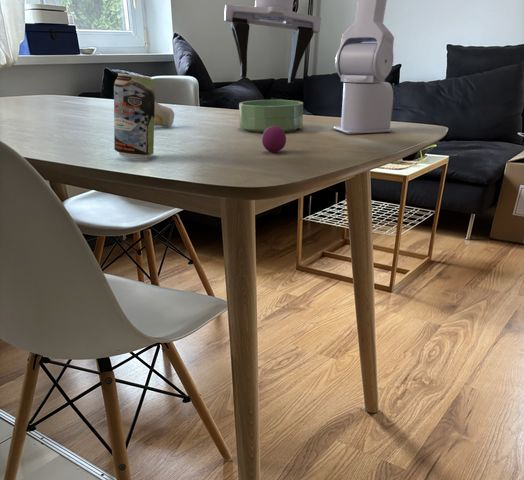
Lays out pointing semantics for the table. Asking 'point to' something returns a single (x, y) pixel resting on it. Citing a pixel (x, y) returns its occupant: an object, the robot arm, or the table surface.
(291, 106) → the bowl
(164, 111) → the mug
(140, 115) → the tall printed two-tone box
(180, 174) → the table surface
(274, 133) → the ball
